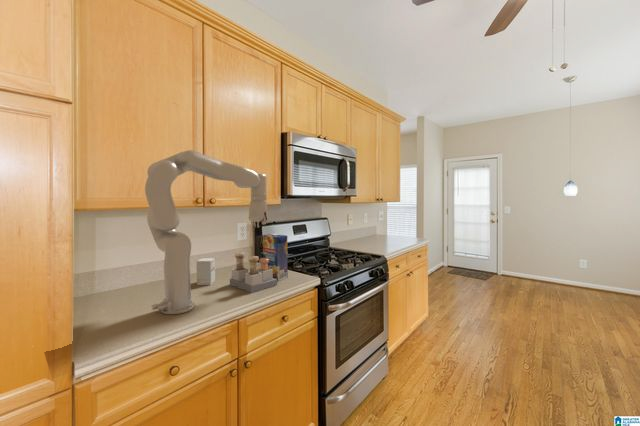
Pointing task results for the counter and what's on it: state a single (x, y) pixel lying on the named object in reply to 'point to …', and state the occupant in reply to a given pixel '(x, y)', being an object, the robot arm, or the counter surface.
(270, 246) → the juice carton
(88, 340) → the counter surface
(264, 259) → the terracotta plug
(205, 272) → the supplement box
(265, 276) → the board
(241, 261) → the beech plug far
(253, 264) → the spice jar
